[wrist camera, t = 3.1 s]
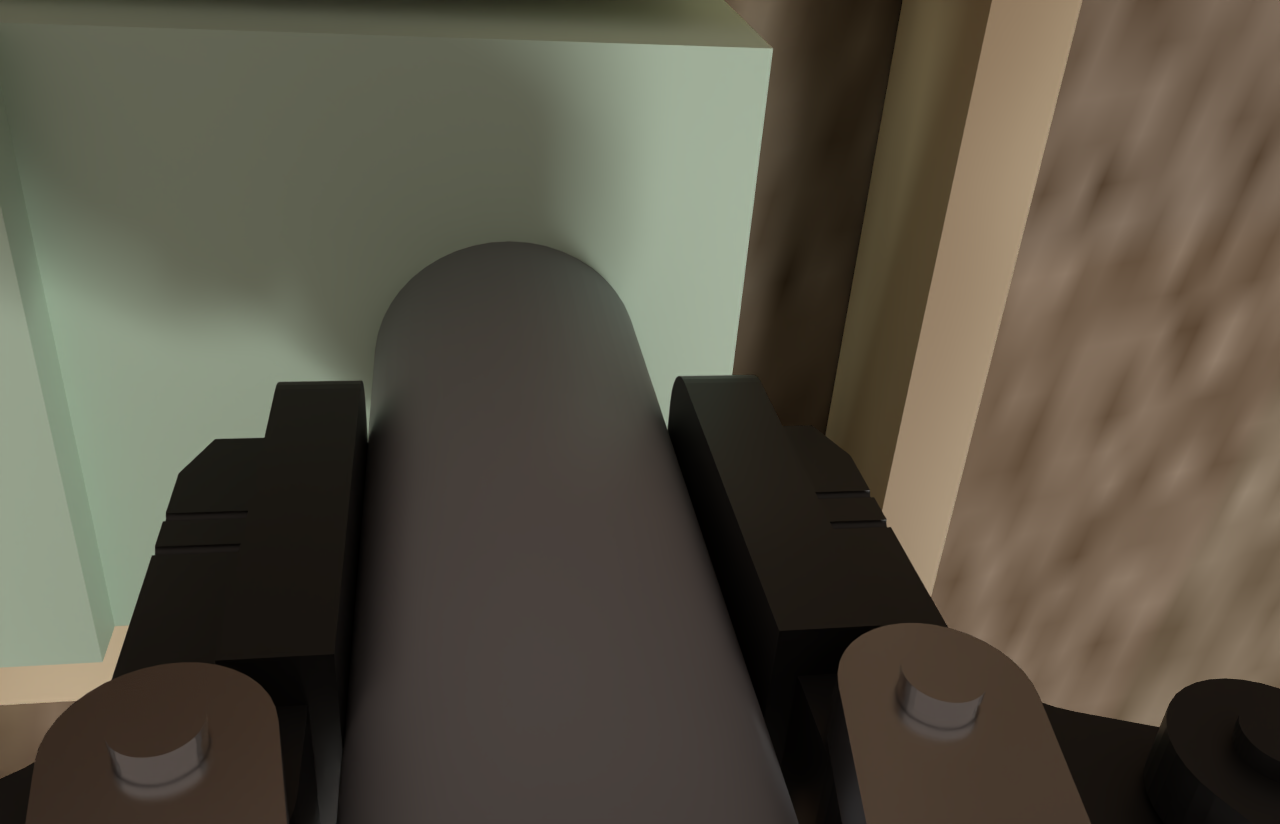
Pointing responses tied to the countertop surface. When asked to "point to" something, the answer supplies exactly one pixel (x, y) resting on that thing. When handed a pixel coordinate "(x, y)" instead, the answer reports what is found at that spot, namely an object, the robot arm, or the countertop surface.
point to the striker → (402, 361)
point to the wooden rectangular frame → (897, 269)
